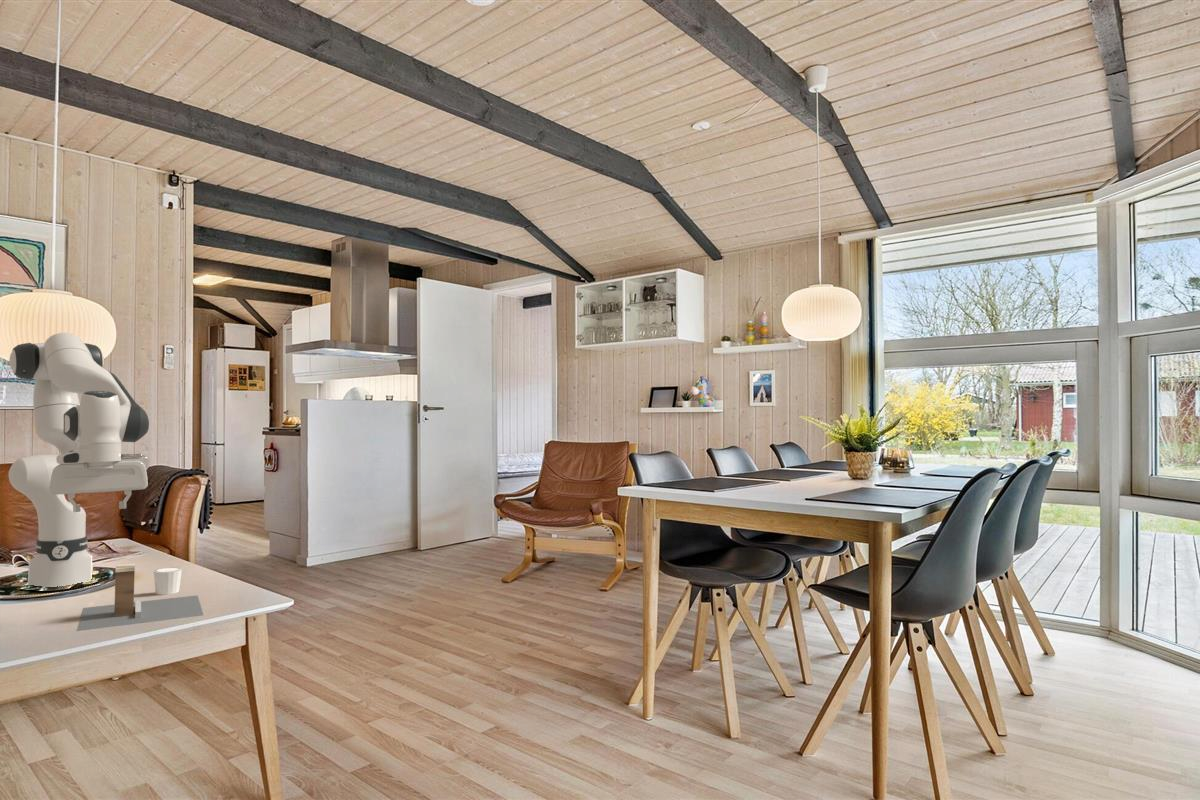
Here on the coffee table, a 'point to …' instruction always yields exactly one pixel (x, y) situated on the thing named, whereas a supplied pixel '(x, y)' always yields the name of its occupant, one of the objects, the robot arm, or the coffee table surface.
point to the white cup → (167, 580)
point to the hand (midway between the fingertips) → (100, 510)
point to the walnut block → (124, 590)
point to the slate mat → (141, 612)
